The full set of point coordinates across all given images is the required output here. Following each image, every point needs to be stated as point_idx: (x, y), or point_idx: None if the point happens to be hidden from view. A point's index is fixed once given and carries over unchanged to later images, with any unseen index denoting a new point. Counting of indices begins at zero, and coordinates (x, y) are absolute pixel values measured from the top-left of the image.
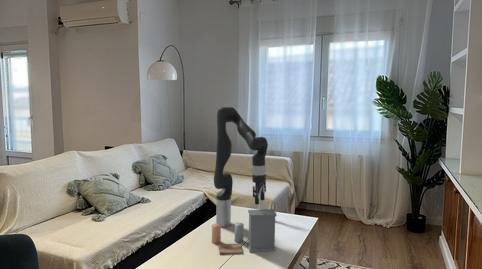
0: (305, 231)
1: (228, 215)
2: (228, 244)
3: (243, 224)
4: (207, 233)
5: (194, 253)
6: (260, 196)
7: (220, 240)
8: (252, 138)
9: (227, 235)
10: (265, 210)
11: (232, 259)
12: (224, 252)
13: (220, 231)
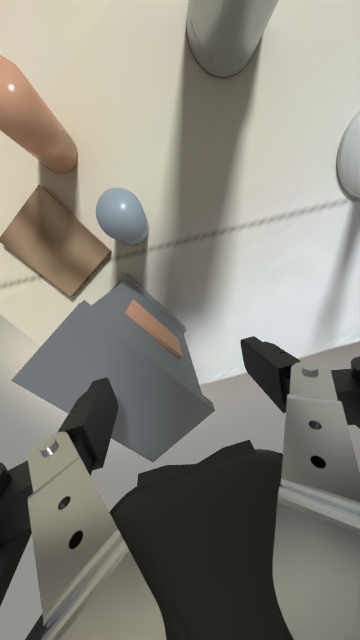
0: (315, 350)
1: (236, 12)
2: (70, 220)
3: (134, 235)
4: (86, 31)
5: None
6: (258, 352)
7: (64, 168)
8: None
9: (139, 148)
10: (163, 394)
11: (20, 295)
12: (15, 252)
13: (41, 147)
